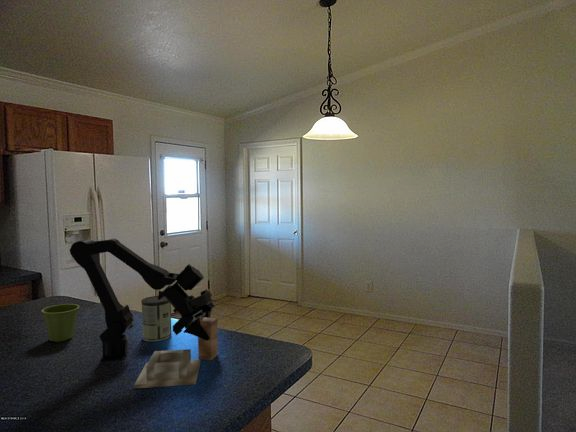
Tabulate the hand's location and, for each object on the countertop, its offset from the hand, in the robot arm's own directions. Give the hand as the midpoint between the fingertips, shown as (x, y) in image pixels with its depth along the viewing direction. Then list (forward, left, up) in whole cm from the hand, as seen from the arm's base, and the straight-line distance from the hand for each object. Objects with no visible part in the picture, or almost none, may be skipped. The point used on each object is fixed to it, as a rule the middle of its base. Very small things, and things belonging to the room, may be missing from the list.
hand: (211, 336), depth 120 cm
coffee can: (-21, +22, -7) cm, 31 cm away
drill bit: (-36, +36, -7) cm, 51 cm away
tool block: (-11, -10, -7) cm, 17 cm away
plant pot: (-55, +25, -7) cm, 61 cm away
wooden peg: (-1, +1, -7) cm, 7 cm away
